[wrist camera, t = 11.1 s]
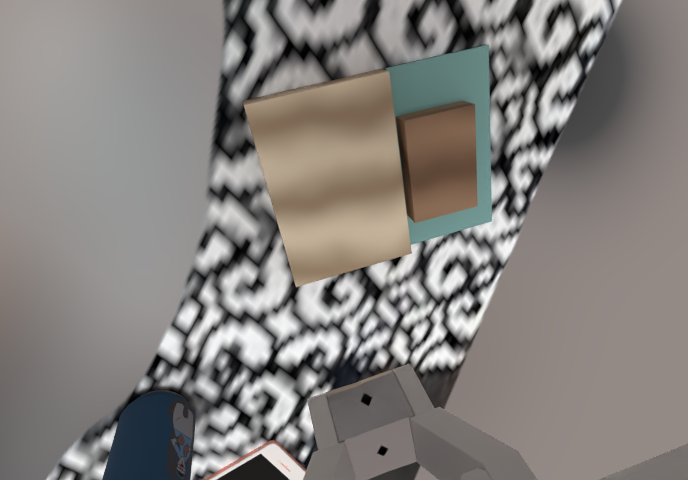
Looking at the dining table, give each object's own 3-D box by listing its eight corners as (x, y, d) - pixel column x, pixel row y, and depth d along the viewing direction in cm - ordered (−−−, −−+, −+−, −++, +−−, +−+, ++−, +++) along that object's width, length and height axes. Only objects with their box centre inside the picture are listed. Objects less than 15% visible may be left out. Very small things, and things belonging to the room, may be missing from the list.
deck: (242, 101, 32) (243, 105, 30) (380, 69, 33) (389, 71, 32) (293, 275, 40) (296, 286, 38) (403, 243, 41) (411, 253, 39)
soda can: (112, 429, 42) (74, 560, 32) (135, 378, 40) (102, 499, 30) (182, 440, 45) (168, 564, 35) (206, 392, 43) (199, 508, 33)
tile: (395, 116, 35) (404, 121, 33) (463, 100, 36) (475, 104, 34) (406, 214, 39) (415, 223, 37) (466, 198, 40) (477, 206, 38)
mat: (384, 68, 33) (386, 68, 33) (485, 44, 35) (488, 45, 34) (406, 242, 41) (408, 245, 41) (488, 219, 42) (491, 221, 42)
